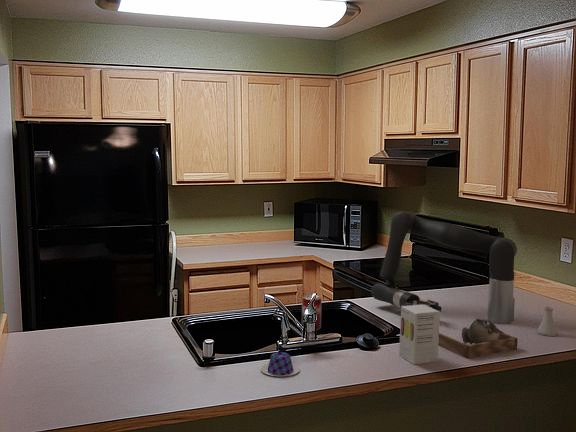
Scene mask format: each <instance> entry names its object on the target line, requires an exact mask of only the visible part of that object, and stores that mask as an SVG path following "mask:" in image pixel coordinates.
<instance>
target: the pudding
mask: <svg viewBox="0 0 576 432" xmlns="http://www.w3.org/2000/svg"><path fill="white" fill-rule="evenodd" d="M300 369H301V368H300V367H299V366H298V365H297V364H294V363H293V362H292V357H291V355H290V354H289V353H287V352H284V351H280V352H279V351H277V352H274V353H271V355H270V358H269V362H268V363H265V364H264V365H262V366H261V367H260V371H261V372H262V373H263V374H266V375H268V376H273V377H280V376H281V377H289V376H293V375H295V374H298V373H299V372H300Z"/></svg>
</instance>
